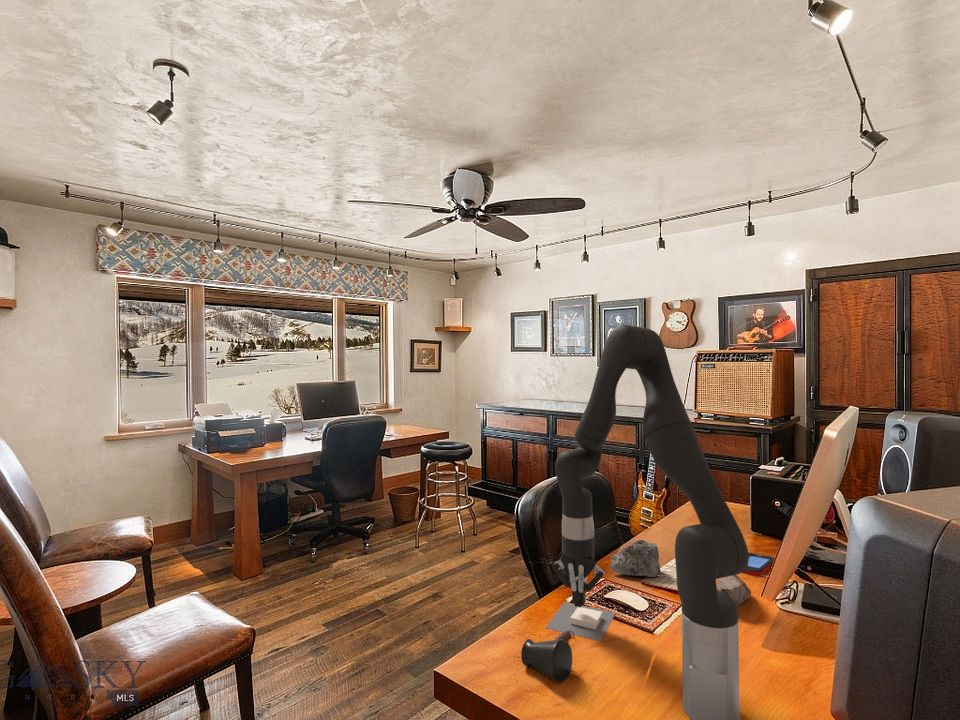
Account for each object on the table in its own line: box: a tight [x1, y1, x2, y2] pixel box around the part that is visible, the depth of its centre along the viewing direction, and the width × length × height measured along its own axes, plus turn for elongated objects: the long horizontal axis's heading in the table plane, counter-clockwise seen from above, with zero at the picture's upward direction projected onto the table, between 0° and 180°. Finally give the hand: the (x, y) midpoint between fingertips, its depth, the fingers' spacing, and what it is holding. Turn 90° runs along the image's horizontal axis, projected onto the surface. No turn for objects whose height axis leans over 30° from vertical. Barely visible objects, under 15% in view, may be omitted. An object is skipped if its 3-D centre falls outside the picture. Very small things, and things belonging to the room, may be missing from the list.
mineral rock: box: [609, 539, 662, 578], centre depth 150 cm, size 13×11×10 cm
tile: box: [570, 607, 603, 629], centre depth 123 cm, size 6×2×6 cm
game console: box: [741, 551, 776, 577], centre depth 156 cm, size 14×13×2 cm
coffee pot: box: [520, 630, 575, 684], centre depth 109 cm, size 8×18×8 cm
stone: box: [716, 574, 752, 607], centre depth 132 cm, size 15×9×10 cm
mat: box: [545, 601, 616, 642], centre depth 124 cm, size 14×13×1 cm
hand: (579, 605), depth 124 cm, fingers closed
